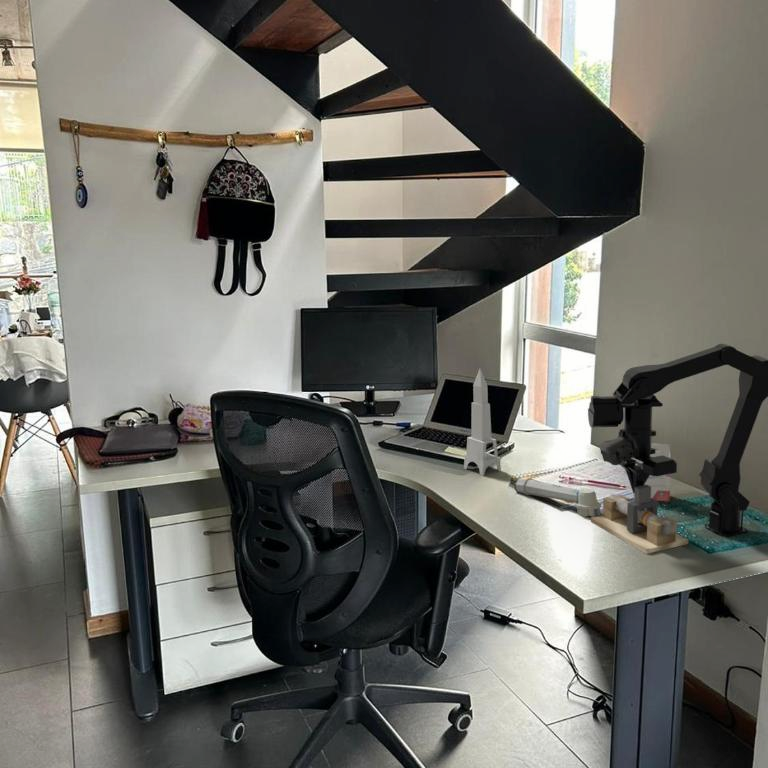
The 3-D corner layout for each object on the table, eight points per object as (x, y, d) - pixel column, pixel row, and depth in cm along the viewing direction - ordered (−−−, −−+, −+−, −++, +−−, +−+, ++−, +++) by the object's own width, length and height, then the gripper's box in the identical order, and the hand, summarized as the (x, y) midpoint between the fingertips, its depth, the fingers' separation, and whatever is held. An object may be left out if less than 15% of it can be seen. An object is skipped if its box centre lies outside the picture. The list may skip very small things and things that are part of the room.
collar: (650, 524, 162) (651, 483, 160) (656, 528, 161) (657, 485, 158) (626, 530, 160) (627, 487, 158) (632, 533, 158) (634, 490, 156)
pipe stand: (629, 513, 172) (630, 489, 171) (688, 543, 155) (689, 517, 154) (590, 521, 169) (591, 497, 168) (646, 553, 151) (647, 526, 150)
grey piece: (525, 474, 192) (603, 485, 172) (527, 499, 192) (606, 512, 172) (511, 479, 189) (590, 491, 169) (514, 504, 189) (593, 518, 169)
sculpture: (482, 475, 204) (480, 371, 197) (463, 468, 210) (461, 367, 204) (500, 470, 207) (499, 367, 201) (482, 463, 214) (479, 364, 208)
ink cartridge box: (669, 495, 183) (671, 439, 179) (669, 502, 178) (671, 445, 175) (633, 492, 186) (635, 437, 183) (632, 499, 181) (634, 443, 178)
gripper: (581, 421, 164) (580, 486, 167) (635, 442, 146) (634, 514, 150) (621, 414, 167) (620, 478, 170) (680, 434, 150) (677, 505, 153)
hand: (636, 493), depth 161 cm, fingers closed
